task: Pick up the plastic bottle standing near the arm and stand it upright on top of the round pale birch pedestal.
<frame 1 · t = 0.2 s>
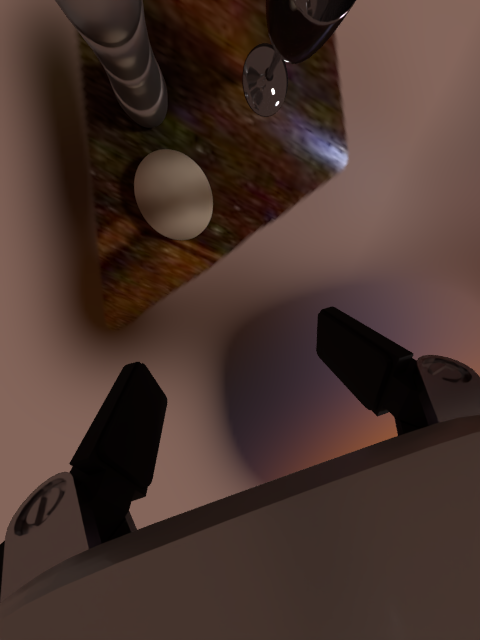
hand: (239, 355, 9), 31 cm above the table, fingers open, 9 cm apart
plastic bottle: (146, 102, 24), on the table
pedestal: (177, 202, 30), on the table
wine glass: (265, 83, 26), on the table
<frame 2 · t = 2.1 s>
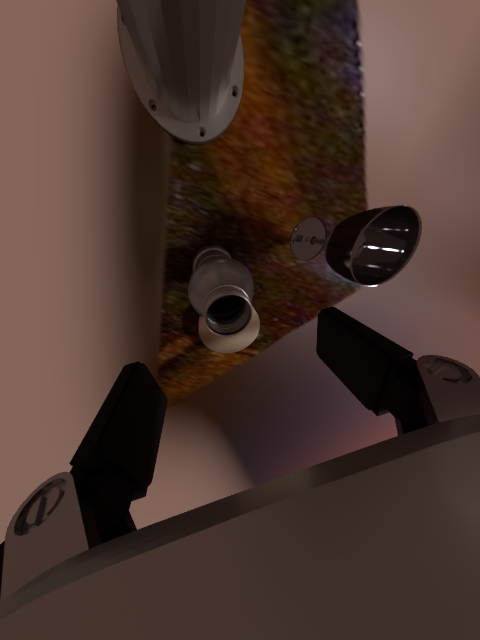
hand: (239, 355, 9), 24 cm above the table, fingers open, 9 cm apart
plastic bottle: (212, 263, 30), on the table
pedestal: (228, 321, 35), on the table
wine glass: (308, 240, 31), on the table
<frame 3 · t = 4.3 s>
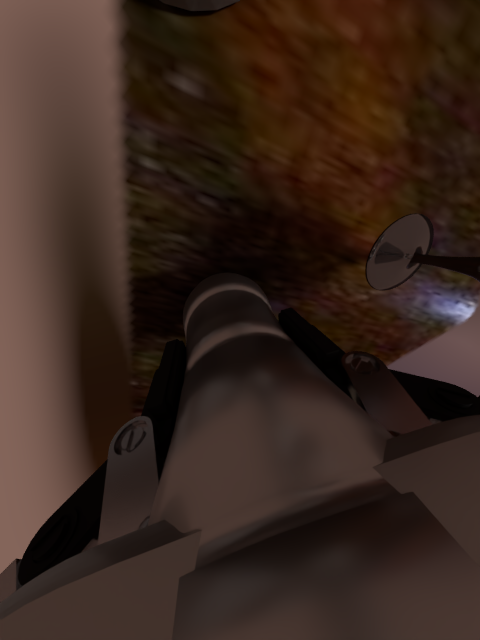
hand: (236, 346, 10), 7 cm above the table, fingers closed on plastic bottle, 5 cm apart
plastic bottle: (223, 302, 16), on the table, touching gripper
wine glass: (397, 255, 17), on the table
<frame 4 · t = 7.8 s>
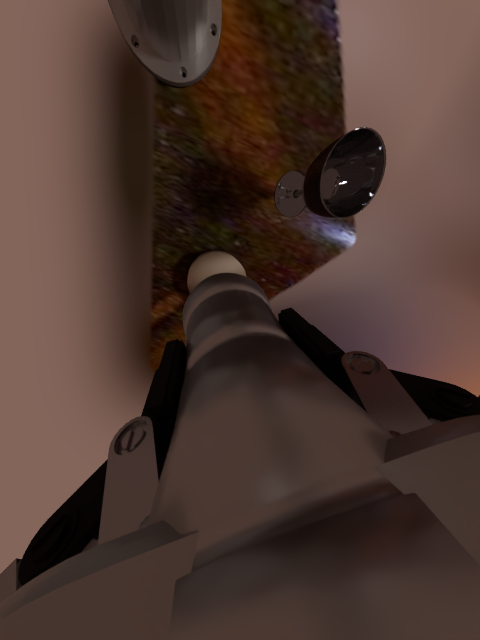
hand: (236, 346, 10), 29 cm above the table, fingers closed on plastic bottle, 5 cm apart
plastic bottle: (223, 302, 16), point 22 cm above the table, touching gripper
pedestal: (216, 279, 37), on the table
wine glass: (291, 195, 32), on the table
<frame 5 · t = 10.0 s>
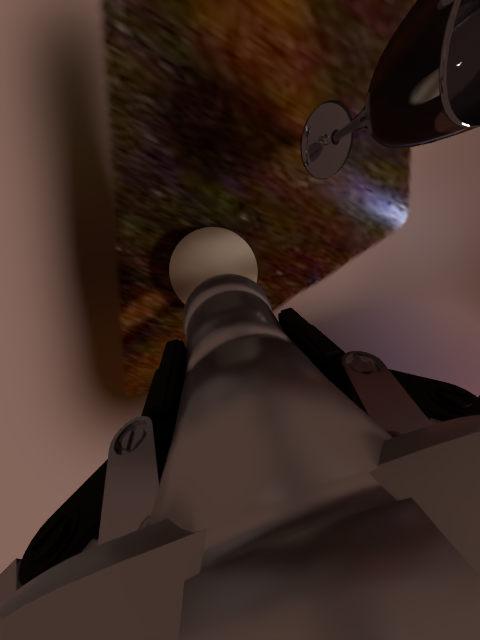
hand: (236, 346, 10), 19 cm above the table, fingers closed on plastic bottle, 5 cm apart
plastic bottle: (223, 302, 16), point 12 cm above the table, touching gripper
pedestal: (214, 271, 26), on the table
wine glass: (326, 143, 21), on the table
when the fingers open (11 cm above the table, at t = 11.8 s): plastic bottle drops 2 cm, resting on pedestal.
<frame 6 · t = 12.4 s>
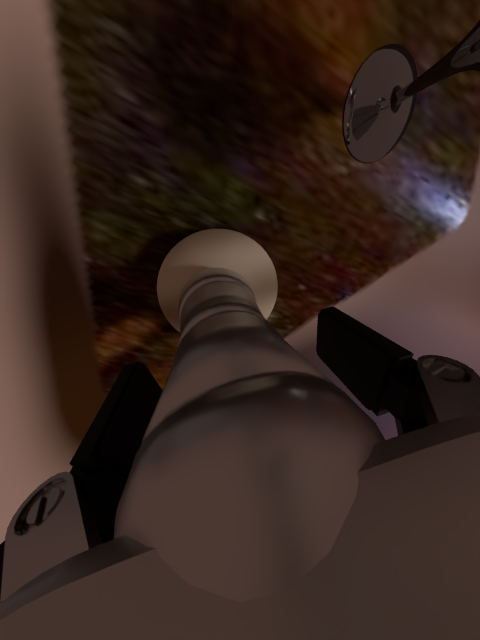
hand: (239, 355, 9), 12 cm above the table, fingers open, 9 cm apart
plastic bottle: (215, 295, 17), point 3 cm above the table, touching pedestal
pedestal: (218, 287, 20), on the table
wine glass: (377, 111, 15), on the table
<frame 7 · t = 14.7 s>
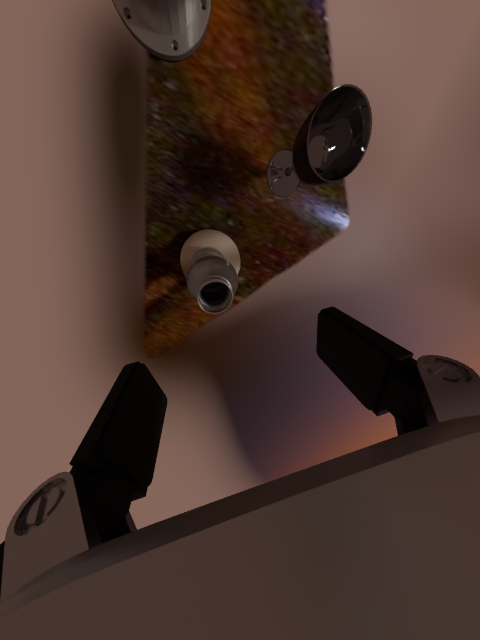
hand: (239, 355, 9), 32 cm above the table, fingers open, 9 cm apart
plastic bottle: (208, 262, 34), point 3 cm above the table, touching pedestal
pedestal: (210, 260, 37), on the table
wine glass: (284, 174, 33), on the table
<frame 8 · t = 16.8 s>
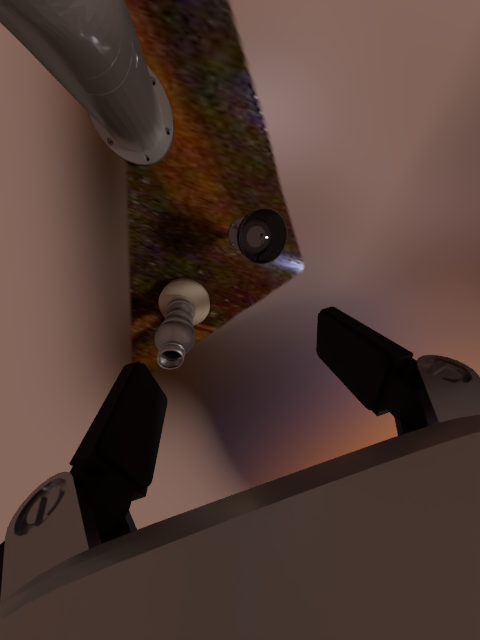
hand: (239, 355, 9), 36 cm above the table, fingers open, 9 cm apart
plastic bottle: (182, 305, 42), point 3 cm above the table, touching pedestal
pedestal: (185, 300, 44), on the table
wine glass: (243, 235, 40), on the table
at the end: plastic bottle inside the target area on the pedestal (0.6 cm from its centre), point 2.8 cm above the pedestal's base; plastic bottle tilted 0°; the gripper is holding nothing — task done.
